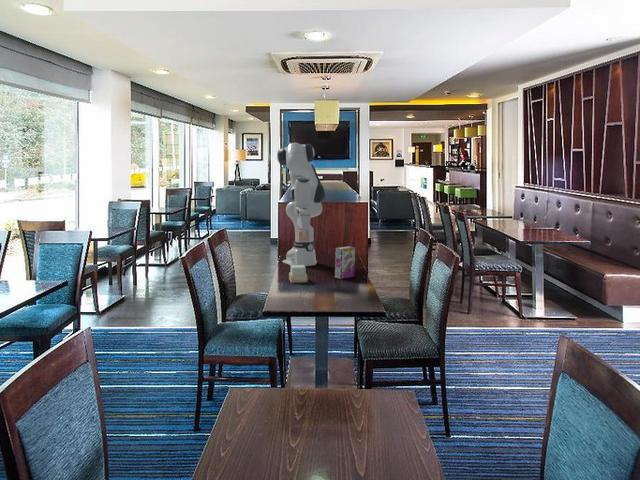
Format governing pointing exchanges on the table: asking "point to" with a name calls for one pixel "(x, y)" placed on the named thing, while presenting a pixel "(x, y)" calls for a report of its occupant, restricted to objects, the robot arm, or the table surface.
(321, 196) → the robot arm
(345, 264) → the candy bar box
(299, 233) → the terracotta cube
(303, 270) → the tower top
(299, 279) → the tower base
